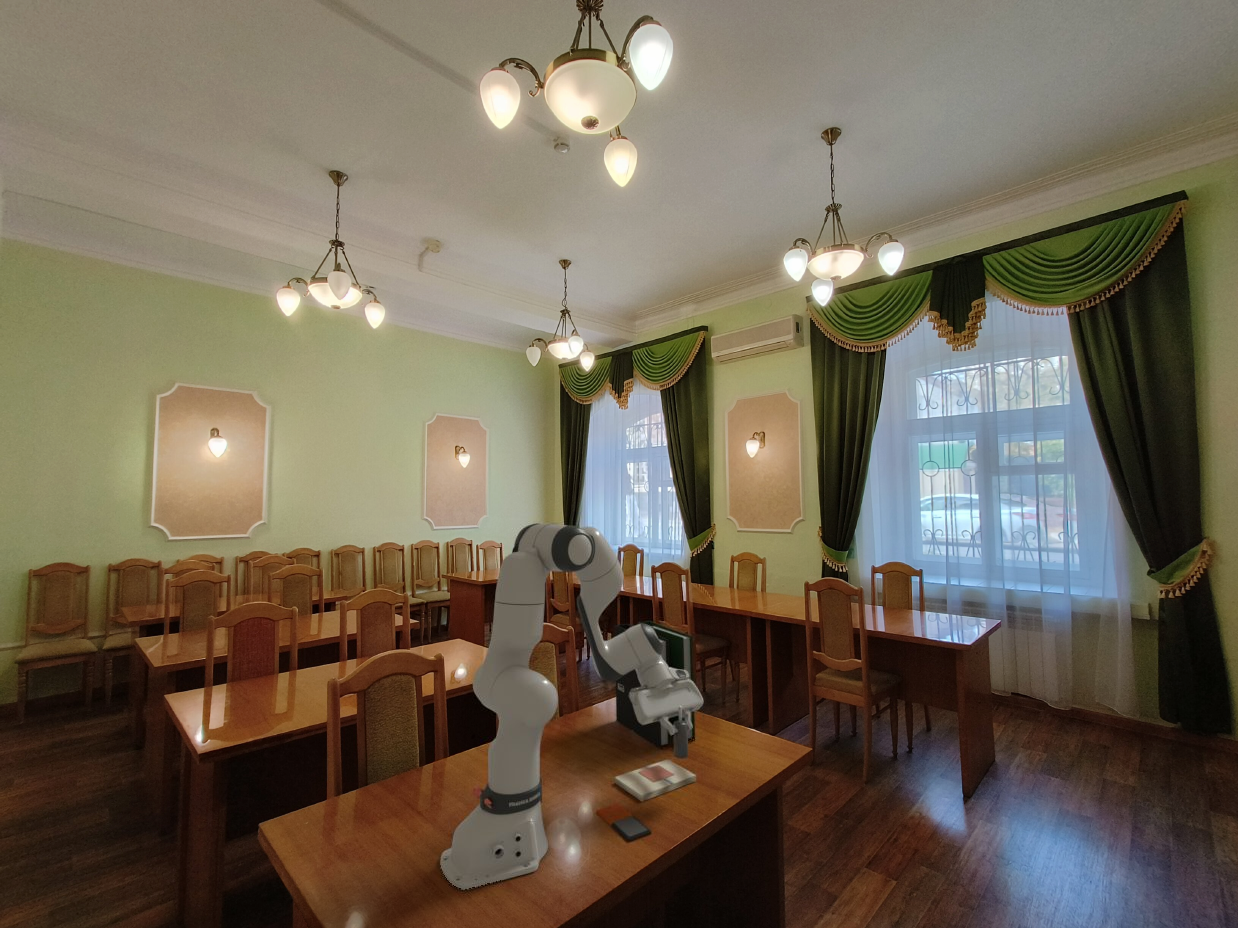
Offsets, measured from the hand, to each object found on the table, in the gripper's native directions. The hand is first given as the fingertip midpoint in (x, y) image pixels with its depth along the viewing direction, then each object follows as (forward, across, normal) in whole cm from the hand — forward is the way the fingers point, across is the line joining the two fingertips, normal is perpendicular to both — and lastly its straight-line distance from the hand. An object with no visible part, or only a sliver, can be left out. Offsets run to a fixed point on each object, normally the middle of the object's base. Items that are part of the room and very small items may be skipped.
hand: (682, 731), depth 147 cm
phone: (+12, -19, +12) cm, 25 cm away
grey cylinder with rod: (+4, 0, +5) cm, 6 cm away
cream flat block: (+4, -1, +19) cm, 19 cm away
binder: (-16, +20, +39) cm, 47 cm away
